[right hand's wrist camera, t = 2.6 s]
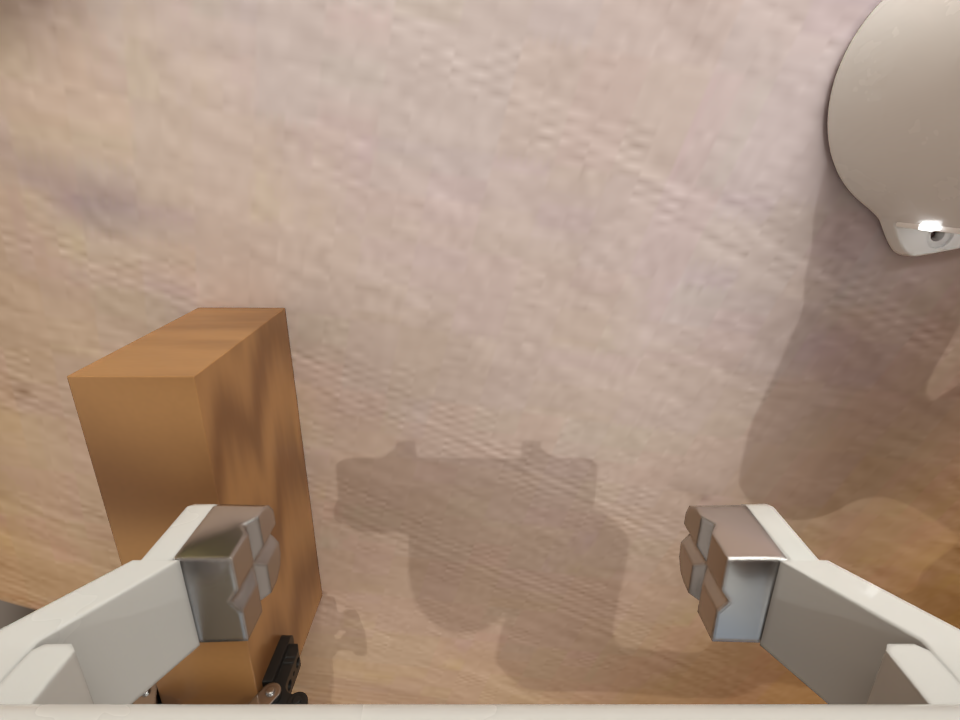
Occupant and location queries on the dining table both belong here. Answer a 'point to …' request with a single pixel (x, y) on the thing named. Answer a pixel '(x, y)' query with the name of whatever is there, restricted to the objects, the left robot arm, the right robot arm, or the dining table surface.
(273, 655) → the left robot arm
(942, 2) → the right robot arm
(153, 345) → the box
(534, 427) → the dining table surface
